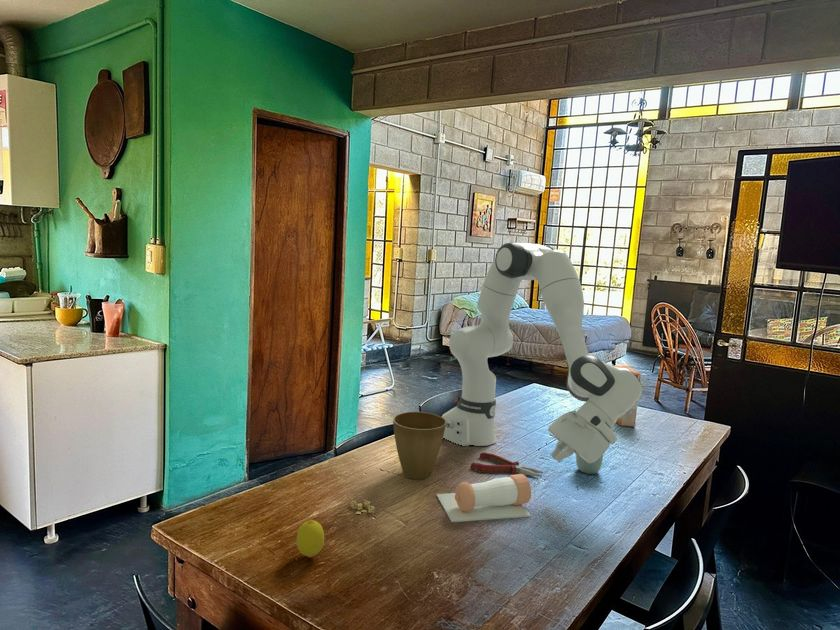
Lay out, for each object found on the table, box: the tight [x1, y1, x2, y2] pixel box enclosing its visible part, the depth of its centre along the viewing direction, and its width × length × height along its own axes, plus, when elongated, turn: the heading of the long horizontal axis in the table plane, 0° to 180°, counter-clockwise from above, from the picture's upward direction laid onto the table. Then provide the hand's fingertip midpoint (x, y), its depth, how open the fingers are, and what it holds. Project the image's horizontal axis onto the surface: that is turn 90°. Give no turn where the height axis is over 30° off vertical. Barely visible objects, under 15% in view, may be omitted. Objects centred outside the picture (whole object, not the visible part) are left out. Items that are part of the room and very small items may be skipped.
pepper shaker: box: [454, 473, 532, 512], centre depth 138 cm, size 7×7×19 cm
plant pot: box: [392, 411, 446, 480], centre depth 156 cm, size 15×15×16 cm
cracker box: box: [613, 365, 641, 427], centre depth 215 cm, size 14×6×21 cm, turn 179°
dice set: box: [350, 500, 375, 515], centre depth 134 cm, size 5×5×2 cm
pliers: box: [470, 451, 544, 478], centre depth 163 cm, size 12×20×3 cm, turn 67°
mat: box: [435, 492, 531, 523], centre depth 139 cm, size 20×14×1 cm
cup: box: [575, 453, 604, 475], centre depth 164 cm, size 8×8×10 cm
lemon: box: [296, 519, 325, 559], centre depth 112 cm, size 6×6×8 cm
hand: (554, 458), depth 142 cm, fingers closed
